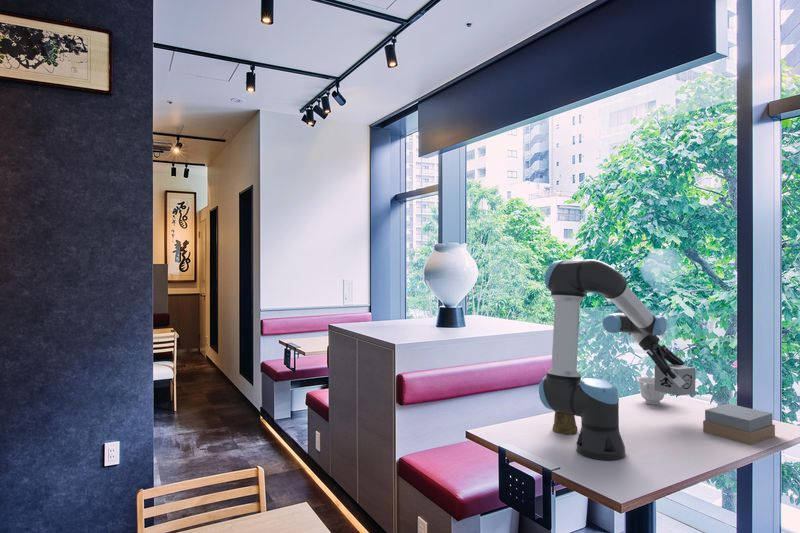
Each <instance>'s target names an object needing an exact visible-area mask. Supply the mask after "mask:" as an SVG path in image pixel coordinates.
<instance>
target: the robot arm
mask: <svg viewBox="0 0 800 533" xmlns="http://www.w3.org/2000/svg"><path fill="white" fill-rule="evenodd" d="M544 275H545V276H544V285H545V287H546V289H547V291H550V296H551V298H552V299H553V300H554V310H553V312H554V313H553V314H554V315H553V330H552V331H553V332H552V333H553V334H552V348H551V349H552V351H551V353H552V354H551V366H550V368H549V369H548V370H546V375H545V376H543V377H542V378H541V380H540V382H539V384H538V395H539V399H540V402H541V403H542V405H543V406H544V407H545V408H546V409H548V410H552V411H554V412H555V411H556V412H563V413H567V414H571V415H575V417H580V418H581V419H580V420H581V422H580V423H581V428H580V431H579V434H578V437H577V441H576V451H577V453H579V454H580V455H582V456H584V457H587V458H588V459H589V458H590V459H594V460H598V461H599V460H600V461H601V460H602V461H614V460H615V461H616V460H620V459H623V458H624V457H625V456H626V447H625V443H624V440H623V438H622V435H621V432H620V419H619V418H620V417H619V414H620V413H619V404H620V403H619V402H620V399H619V391H618V388H617V387H616V385H615V384H614V383H611V382H609V381H607V380H603V379H599V378H591V377H588V378H587V377H586V378H583V379H581V378H582V375H581V374H580V372H578V370H577V369H578V353H579V352H578V351H579V349H578V348H579V332H580V331H579V330H580V329H579V327H580V313H581V312H580V309H581V308H580V307H581V302H582V301H583V300H584V299H585V297H586V293H592V294H599V295H601V296H602V297H603V298H605V299H608V300H610V301H611V302H612V303H613V304H614V305H615V306H616V307H617V308H616V309H615V310H614V311H613V313H610V314H607V315H605V316H604V317H603V319H602V327H603V329H604V330H605V332H607V333H610V334H617V333H624V334H625V333H626V334H628V335H629V336H630V337H631V338H632V339H631V340H632V341H635V343H636V344H638V347H639V346H640V348H641V349H642V350H643V351H644V352H646V354H647V355H648V356H649V357H650V358H651V360H652V361H653V363H654V365H657V367H658V368H659V369H660V371H661V372H662V373H663V374H666V373H667V374H668V376H669V377H670V378H671V379H672V380H673V381H674V382H675V383H676V384H677V385H678V386H679V387H681V386H682V385H684V384H685V382H684V380H683V379H682V378H681V377H680V376H679V375H677V374H676V372H675V371H674V370H673V369H671V368H670V367H669V365H668V364H674V365H682V366H685V365H686V364H685V362H684V361H683V360H682V359H681V358H680V357H678V356H677V355H676V354H675V353H674V352H672V351H671V350H670V349H669V347H667V346H666V345H665V344H662V345H661V344H659V342H660V338H659V336H663V335H665V333H666V332H667V325H668V323H667V320H666V318H665V317H664V316H662V315H655V314H653V313H652V311H651V310H650V309H649V308H648V307H647V306H646V305H645V304H644V302H643V301H642V300H641V299H640V298H639V297H638V296H637V295H636V294H635V292H634V291H633V290H632V289H631V288H630V287H629V286H628V281H627V279H626V277H624V275H623V274H622V273H621V272H619V270H617V269H615V268H614V267H612V266H611V265H609V264H608V263H605V262H604V261H600V260H598V259H593V258H591V259H590V258H589V259H561V260H559V259H558V260H555V261H553V262H551V263H550V265H549V266H548V267H547V269H546V272H545V274H544ZM668 362H669V363H668ZM696 379H697V378H696V377H695V380H696Z"/></svg>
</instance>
